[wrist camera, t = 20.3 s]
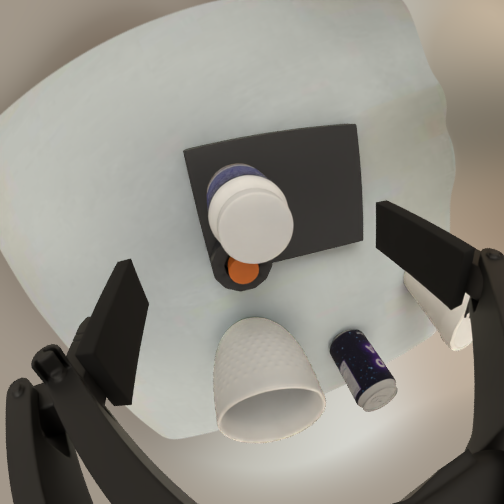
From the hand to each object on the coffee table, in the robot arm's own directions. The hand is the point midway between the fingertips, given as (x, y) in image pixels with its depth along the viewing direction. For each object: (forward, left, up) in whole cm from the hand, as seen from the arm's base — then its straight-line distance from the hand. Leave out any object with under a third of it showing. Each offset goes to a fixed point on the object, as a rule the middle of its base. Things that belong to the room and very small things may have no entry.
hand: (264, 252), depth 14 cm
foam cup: (+29, +6, -15) cm, 33 cm away
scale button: (+4, -5, -12) cm, 13 cm away
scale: (+4, +2, -15) cm, 16 cm away
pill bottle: (0, 0, -13) cm, 13 cm away
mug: (+13, -15, -15) cm, 25 cm away
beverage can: (+26, -9, -15) cm, 31 cm away
